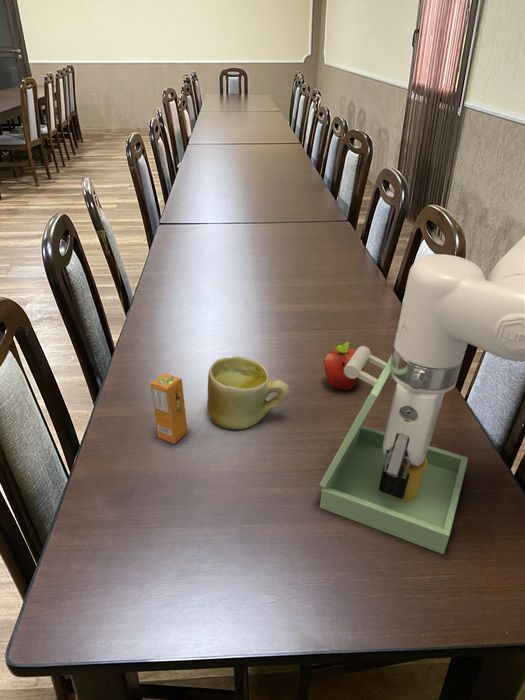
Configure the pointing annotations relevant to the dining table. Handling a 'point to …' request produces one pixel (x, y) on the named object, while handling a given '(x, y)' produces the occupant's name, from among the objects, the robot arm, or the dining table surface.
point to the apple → (339, 367)
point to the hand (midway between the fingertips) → (396, 478)
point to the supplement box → (169, 407)
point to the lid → (353, 371)
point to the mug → (241, 392)
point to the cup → (413, 479)
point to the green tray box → (387, 511)
